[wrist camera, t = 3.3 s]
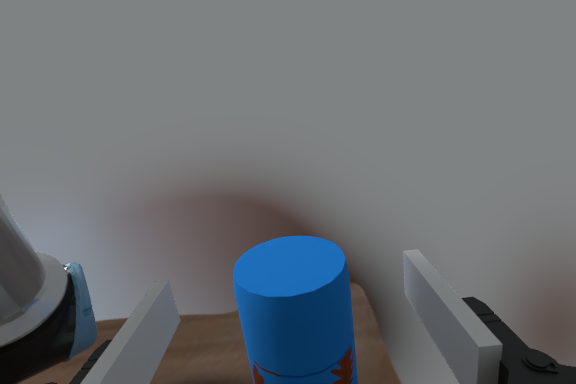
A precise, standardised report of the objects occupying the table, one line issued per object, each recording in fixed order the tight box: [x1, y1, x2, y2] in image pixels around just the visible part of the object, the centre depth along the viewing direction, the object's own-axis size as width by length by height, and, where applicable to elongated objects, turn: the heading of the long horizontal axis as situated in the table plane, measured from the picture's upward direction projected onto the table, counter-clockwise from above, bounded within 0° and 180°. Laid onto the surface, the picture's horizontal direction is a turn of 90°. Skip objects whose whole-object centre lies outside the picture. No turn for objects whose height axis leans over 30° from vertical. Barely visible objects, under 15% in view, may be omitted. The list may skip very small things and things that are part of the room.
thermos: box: [233, 236, 358, 384], centre depth 31 cm, size 11×11×25 cm
